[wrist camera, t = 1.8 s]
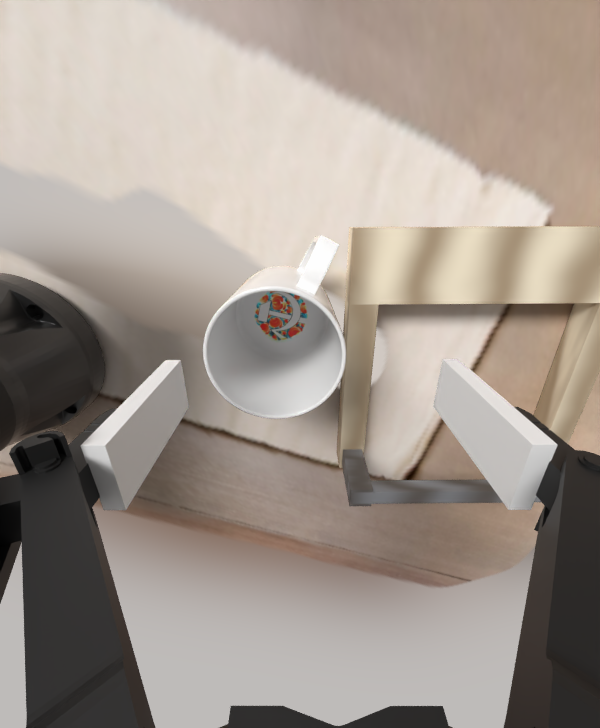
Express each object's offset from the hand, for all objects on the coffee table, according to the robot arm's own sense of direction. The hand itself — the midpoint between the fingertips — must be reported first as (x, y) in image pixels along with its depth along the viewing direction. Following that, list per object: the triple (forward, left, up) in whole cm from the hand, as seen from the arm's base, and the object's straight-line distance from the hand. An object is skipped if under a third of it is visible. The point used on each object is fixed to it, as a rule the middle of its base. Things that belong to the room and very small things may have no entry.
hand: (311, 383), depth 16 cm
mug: (-1, +1, -15) cm, 15 cm away
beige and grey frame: (+16, -5, -15) cm, 22 cm away
